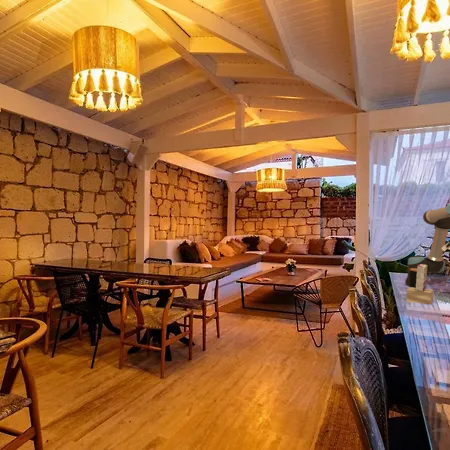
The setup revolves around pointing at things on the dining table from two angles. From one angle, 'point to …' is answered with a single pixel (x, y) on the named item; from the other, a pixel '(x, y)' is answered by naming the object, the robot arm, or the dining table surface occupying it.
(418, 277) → the candy bar box
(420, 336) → the dining table surface
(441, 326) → the dining table surface
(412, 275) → the coffee jar
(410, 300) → the ash block
